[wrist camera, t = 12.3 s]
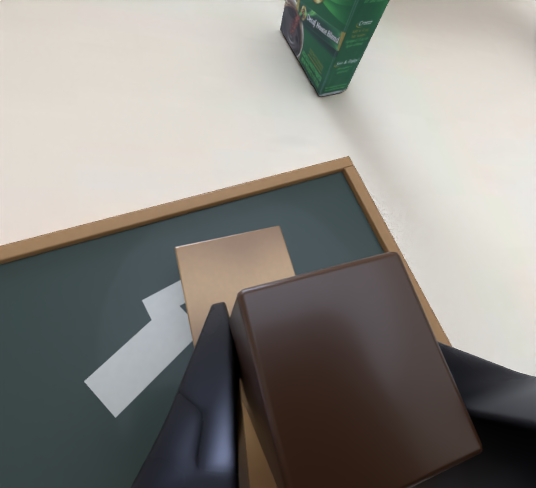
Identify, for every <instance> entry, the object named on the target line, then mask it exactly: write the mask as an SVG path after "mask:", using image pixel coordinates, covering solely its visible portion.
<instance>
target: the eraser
mask: <svg viewBox="0 0 536 488" xmlns="http://www.w3.org/2000/svg"><path fill="white" fill-rule="evenodd" d="M175 253H176V258H177V263H178V268H179V273H180V279H181V284H182V289H183V294H184V299H185V304H186V309H187V314H188V320H189V325H190V330H191V335H192V340H193V345H194V348H195V345H196V343H197V340H198V338H199V335H200V333H201V330H202V328H203V325H204V323H205V320H206V318H207V315H208V313H209V310H210V308H211V305H212V304H215V303H220V302H225V303H226V306H227V310H228V313H229V316H230V319H229V326H230V329H231V332H232V336H233V341H234V347H235V352H236V358H237V364H238V370H239V376H240V385H241V395H242V406H243V417H244V427H245V438H246V448H247V459H248V470H249V480H250V488H411V487H413V486H415V485H417V484H419V483H421V482H423V481H426V480H428V479H430V478H432V477H434V476H436V475H438V474H440V473H442V472H444V471H446V470H448V469H450V468H452V467H454V466H456V465H458V464H460V463H462V462H464V461H466V460H468V459H470V458H472V457H474V456H476V455H478V454H480V453H481V452H482V450H483V449H482V443H481V441H480V439H479V436H478V434H477V432H476V430H475V427H474V425H473V423H472V420H471V418H470V416H469V413H468V411H467V409H466V407H465V404H464V402H463V400H462V397H461V395H460V393H459V390H458V388H457V386H456V384H455V381H454V379H453V377H452V374H451V372H450V370H449V367H448V365H447V363H446V360H445V358H444V356H443V354H442V351H441V349H440V347H439V344H438V342H437V340H436V337H435V335H434V333H433V331H432V328H431V326H430V324H429V321H428V319H427V317H426V314H425V312H424V310H423V308H422V305H421V303H420V301H419V298H418V296H417V294H416V291H415V289H414V287H413V285H412V282H411V280H410V278H409V275H408V273H407V271H406V268H405V266H404V264H403V262H402V259H401V257H400V255H399V254H398V253H397V252H387V253H383V254H379V255H375V256H371V257H367V258H363V259H359V260H355V261H351V262H347V263H343V264H340V265H336V266H332V267H328V268H324V269H320V270H316V271H312V272H308V273H304V274H300V275H295V272H294V269H293V266H292V263H291V259H290V256H289V253H288V250H287V247H286V244H285V240H284V237H283V234H282V231H281V228H280V226H274V227H270V228H265V229H260V230H255V231H250V232H245V233H241V234H236V235H231V236H226V237H221V238H217V239H212V240H207V241H202V242H197V243H193V244H188V245H183V246H178V247H175Z"/></svg>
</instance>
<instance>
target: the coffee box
mask: <svg viewBox="0 0 536 488" xmlns="http://www.w3.org/2000/svg"><path fill="white" fill-rule="evenodd" d="M388 2H389V0H285V6H284V12H283V16H282V23H281V28H280V30H281V31H282V33H283V34H284V36H285V38H286V40H287V41H288V43H289V45H290V47H291V48H292V50H293V51H294V53H295V55H296V57H297V58H298V60H299V62H300V63H301V65H302V67H303V69H304V70H305V72H306V74H307V76H308V78H309V80H310V82H311V83H312V84H313V86H314V87H315V89H316V91H317V93H318V94H319V96H326V95H331V94H336V93H341V92H342V91H344V90H346V89H347V87H348V85H349V83H350V81H351V78H352V76H353V74H354V72H355V70H356V68H357V66H358V64H359V62H360V60H361V58H362V56H363V54H364V51H365V49H366V48H367V45H368V43H369V41H370V39H371V37H372V35H373V33H374V31H375V29H376V27H377V25H378V23H379V21H380V19H381V16H382V14H383V12H384V10H385V8H386V6H387V4H388Z"/></svg>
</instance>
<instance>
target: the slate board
mask: <svg viewBox="0 0 536 488" xmlns="http://www.w3.org/2000/svg"><path fill="white" fill-rule="evenodd" d="M274 226H280V228H281V231H282V234H283V237H284V240H285V244H286V247H287V250H288V253H289V256H290V259H291V263H292V266H293V269H294V272H295V275H300V274H304V273H308V272H312V271H316V270H320V269H324V268H328V267H332V266H336V265H340V264H343V263H347V262H351V261H355V260H359V259H363V258H367V257H371V256H375V255H379V254H383V253H387V252H397V253H398V254H399V255H400V257H401V259H402V262H403V264H404V266H405V268H406V271H407V273H408V275H409V278H410V280H411V282H412V285H413V287H414V289H415V291H416V294H417V296H418V298H419V301H420V303H421V305H422V308H423V310H424V312H425V314H426V317H427V319H428V321H429V324H430V326H431V328H432V331H433V333H434V335H435V337H436V340H437V341H438V342H441V343H443V344H446V345H448V346H451V344H450V342H449V340H448V338H447V336H446V335H445V333H444V331H443V329H442V327H441V325H440V323H439V322H438V320H437V318H436V316H435V314H434V312H433V310H432V309H431V307H430V305H429V303H428V301H427V299H426V298H425V296H424V294H423V292H422V290H421V288H420V286H419V285H418V283H417V281H416V279H415V277H414V275H413V274H412V272H411V270H410V268H409V266H408V264H407V262H406V261H405V259H404V257H403V255H402V253H401V251H400V249H399V248H398V246H397V244H396V242H395V240H394V238H393V237H392V235H391V233H390V231H389V229H388V227H387V225H386V224H385V222H384V220H383V218H382V216H381V214H380V213H379V211H378V209H377V207H376V205H375V203H374V201H373V200H372V198H371V196H370V194H369V192H368V190H367V188H366V187H365V185H364V183H363V181H362V179H361V177H360V176H359V174H358V172H357V170H356V168H355V166H353V163H352V161H351V159H350V157H349V156H347V157H344V158H340V159H336V160H332V161H328V162H324V163H320V164H316V165H312V166H309V167H305V168H301V169H297V170H293V171H289V172H285V173H281V174H278V175H274V176H270V177H266V178H262V179H258V180H254V181H250V182H246V183H243V184H239V185H235V186H231V187H227V188H223V189H219V190H215V191H212V192H208V193H204V194H200V195H196V196H192V197H188V198H184V199H181V200H177V201H173V202H169V203H165V204H161V205H157V206H153V207H149V208H146V209H142V210H138V211H134V212H130V213H126V214H122V215H118V216H115V217H111V218H107V219H103V220H99V221H95V222H91V223H87V224H83V225H80V226H76V227H72V228H68V229H64V230H60V231H56V232H52V233H49V234H45V235H41V236H37V237H33V238H29V239H25V240H21V241H18V242H14V243H10V244H6V245H2V246H0V488H131V486H132V484H133V482H134V480H135V478H136V476H137V474H138V473H139V471H140V469H141V467H142V465H143V463H144V461H145V459H146V458H147V456H148V454H149V452H150V450H151V448H152V446H153V444H154V442H155V440H156V438H157V436H158V434H159V432H160V430H161V428H162V426H163V424H164V421H165V419H166V417H167V415H168V412H169V410H170V408H171V405H172V403H173V400H174V398H175V395H176V393H178V392H177V391H178V388H179V385H180V383H181V380H182V378H183V375H184V373H185V370H186V368H187V365H188V363H189V360H190V358H191V355H192V353H193V350H194V345H193V340H192V335H191V330H190V325H189V320H188V314H187V309H186V304H185V299H184V294H183V289H182V284H181V279H180V273H179V268H178V263H177V258H176V253H175V247H178V246H183V245H188V244H193V243H197V242H202V241H207V240H212V239H217V238H221V237H226V236H231V235H236V234H241V233H245V232H250V231H255V230H260V229H265V228H270V227H274ZM451 347H452V346H451Z"/></svg>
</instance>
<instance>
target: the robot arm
mask: <svg viewBox="0 0 536 488" xmlns="http://www.w3.org/2000/svg"><path fill="white" fill-rule="evenodd" d="M229 319H230V316H229V313H228V310H227V306H226V303H225V302H220V303H215V304H212V305H211V308H210V310H209V313H208V315H207V318H206V320H205V323H204V325H203V328H202V330H201V333H200V335H199V338H198V340H197V343H196V345H195V348H194V350H193V353H192V355H191V358H190V360H189V363H188V365H187V368H186V370H185V373H184V375H183V378H182V380H181V383H180V385H179V388H178V391H177V392H178V393H176V395H175V398H174V400H173V403H172V405H171V408H170V410H169V412H168V415H167V417H166V419H165V421H164V424H163V426H162V428H161V430H160V432H159V434H158V436H157V438H156V440H155V442H154V444H153V446H152V448H151V450H150V452H149V454H148V456H147V458H146V459H145V461H144V463H143V465H142V467H141V469H140V471H139V473H138V474H137V476H136V478H135V480H134V482H133V484H132V486H131V488H250V480H249V470H248V459H247V448H246V438H245V427H244V417H243V406H242V395H241V385H240V376H239V370H238V364H237V358H236V352H235V347H234V341H233V336H232V332H231V329H230V326H229ZM437 342H438V341H437ZM438 344H439V347H440V349H441V351H442V354H443V356H444V358H445V360H446V363H447V365H448V367H449V370H450V372H451V374H452V377H453V379H454V381H455V384H456V386H457V388H458V390H459V393H460V395H461V397H462V400H463V402H464V404H465V407H466V409H467V411H468V413H469V416H470V418H471V420H472V423H473V425H474V427H475V430H476V432H477V434H478V436H479V439H480V441H481V443H482V449H483V450H482V452H481V453H480V454H478V455H476V456H474V457H472V458H470V459H468V460H466V461H464V462H462V463H460V464H458V465H456V466H454V467H452V468H450V469H448V470H446V471H444V472H442V473H440V474H438V475H436V476H434V477H432V478H430V479H428V480H426V481H423V482H421V483H419V484H417V485H415V486H413V487H411V488H536V377H534V376H529V375H526V374H522V373H519V372H516V371H513V370H510V369H508V368H505V367H503V366H500V365H497V364H495V363H492V362H490V361H487V360H484V359H482V358H479V357H476V356H474V355H471V354H469V353H466V352H463V351H461V350H458V349H456V348H453V347H451V346H448V345H446V344H443V343H441V342H438Z"/></svg>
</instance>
